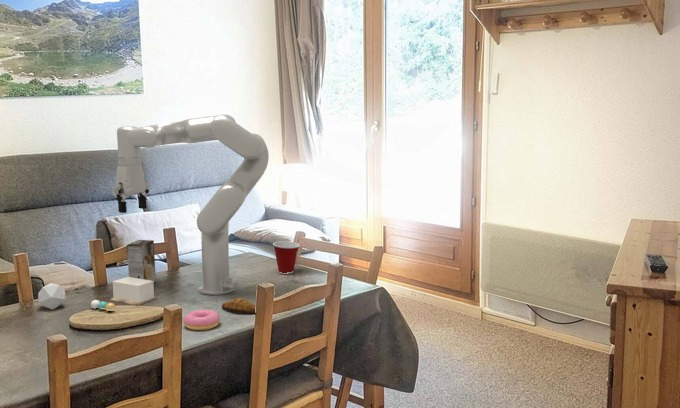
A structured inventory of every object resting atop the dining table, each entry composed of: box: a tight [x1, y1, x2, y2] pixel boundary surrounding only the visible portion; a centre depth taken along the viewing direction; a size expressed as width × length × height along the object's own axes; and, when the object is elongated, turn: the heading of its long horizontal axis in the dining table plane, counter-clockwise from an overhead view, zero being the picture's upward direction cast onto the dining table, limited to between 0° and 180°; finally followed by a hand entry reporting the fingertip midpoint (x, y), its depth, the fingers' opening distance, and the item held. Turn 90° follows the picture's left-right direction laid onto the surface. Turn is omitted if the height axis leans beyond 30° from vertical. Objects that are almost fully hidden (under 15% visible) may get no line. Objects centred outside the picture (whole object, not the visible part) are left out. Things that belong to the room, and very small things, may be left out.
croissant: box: [221, 297, 256, 315], centre depth 216 cm, size 14×7×5 cm, turn 65°
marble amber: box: [105, 302, 116, 309], centre depth 216 cm, size 3×3×3 cm
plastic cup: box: [272, 240, 301, 273], centre depth 264 cm, size 11×11×12 cm
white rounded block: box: [112, 276, 155, 303], centre depth 229 cm, size 12×7×6 cm, turn 62°
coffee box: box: [126, 239, 157, 283], centre depth 247 cm, size 9×6×16 cm
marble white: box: [90, 299, 101, 310], centre depth 219 cm, size 3×3×3 cm
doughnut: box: [183, 309, 221, 331], centre depth 202 cm, size 11×11×4 cm
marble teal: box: [98, 300, 108, 309], centre depth 217 cm, size 3×3×3 cm
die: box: [37, 282, 66, 311], centre depth 220 cm, size 8×9×10 cm
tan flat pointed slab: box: [109, 296, 158, 306], centre depth 229 cm, size 13×9×1 cm
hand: (132, 210), depth 234 cm, fingers open, 9 cm apart
